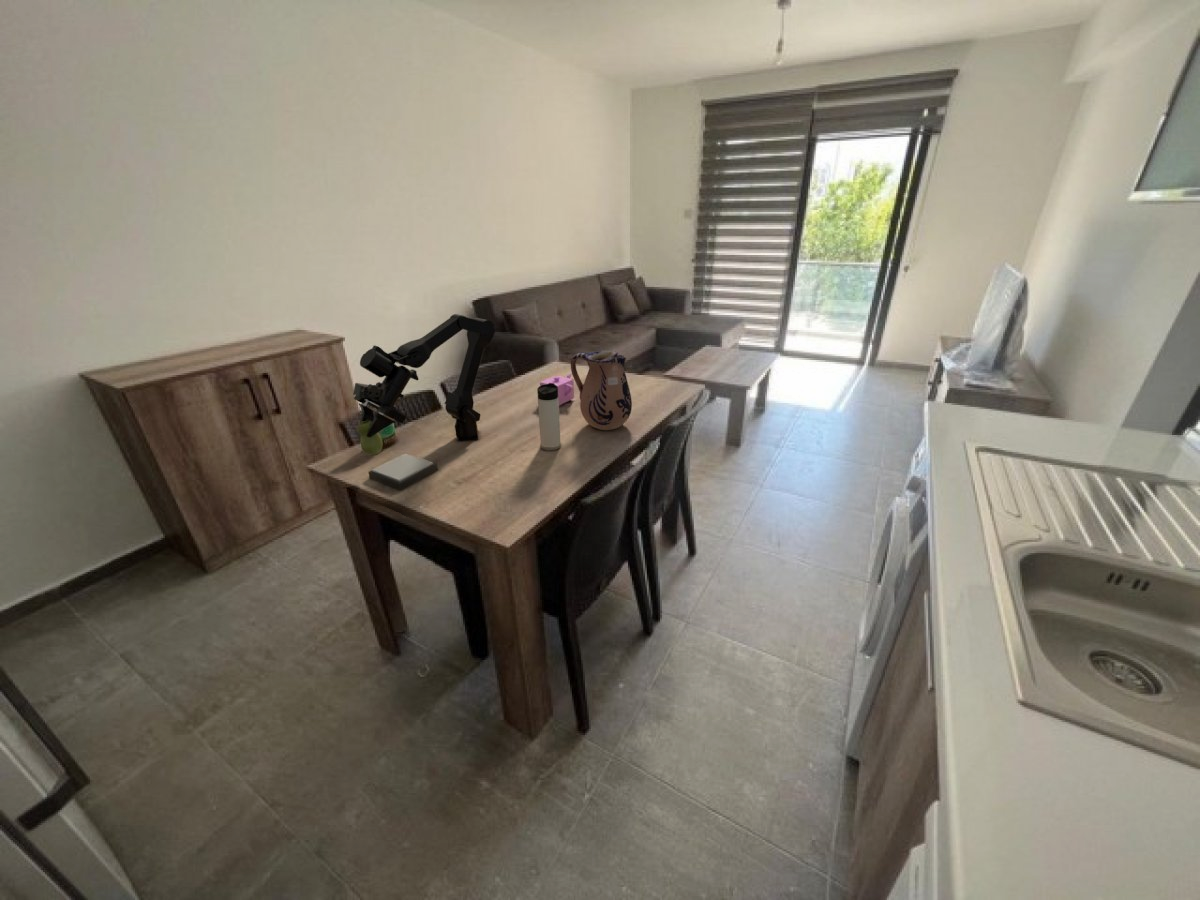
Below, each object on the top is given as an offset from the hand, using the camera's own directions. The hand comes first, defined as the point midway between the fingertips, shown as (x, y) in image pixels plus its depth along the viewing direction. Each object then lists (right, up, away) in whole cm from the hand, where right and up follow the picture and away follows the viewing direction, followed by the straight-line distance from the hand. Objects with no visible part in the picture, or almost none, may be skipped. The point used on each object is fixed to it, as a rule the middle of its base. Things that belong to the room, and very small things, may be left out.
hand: (363, 434), depth 131 cm
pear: (+1, -6, +4) cm, 7 cm away
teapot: (+49, +15, +56) cm, 76 cm away
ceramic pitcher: (+65, +4, +36) cm, 74 cm away
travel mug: (+49, -3, +21) cm, 54 cm away
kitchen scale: (+9, -11, +5) cm, 15 cm away
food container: (-3, -2, +23) cm, 23 cm away
